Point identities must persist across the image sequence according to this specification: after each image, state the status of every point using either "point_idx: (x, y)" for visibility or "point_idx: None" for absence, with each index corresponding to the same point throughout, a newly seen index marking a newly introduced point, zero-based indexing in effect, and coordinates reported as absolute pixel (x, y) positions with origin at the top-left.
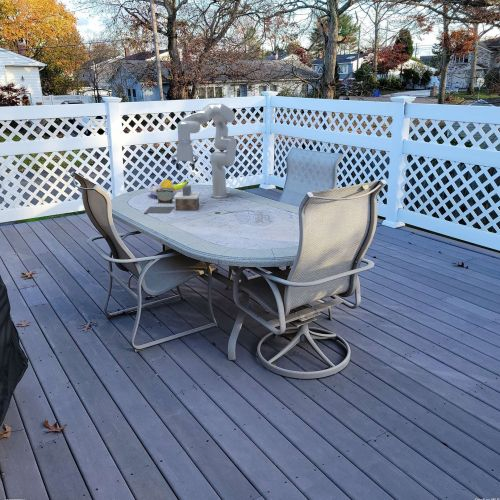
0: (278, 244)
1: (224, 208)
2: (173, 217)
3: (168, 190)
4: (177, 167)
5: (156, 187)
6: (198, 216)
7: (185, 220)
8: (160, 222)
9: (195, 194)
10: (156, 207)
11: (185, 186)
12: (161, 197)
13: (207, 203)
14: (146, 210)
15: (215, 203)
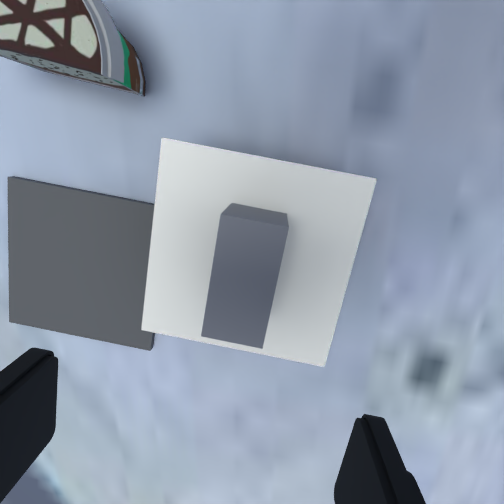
0: None
1: (497, 277)
2: (179, 405)
3: (63, 46)
4: (5, 482)
5: None
6: (310, 412)
7: (241, 462)
8: (126, 468)
9: (321, 272)
10: (53, 210)
11: (229, 262)
12: (37, 64)
13: (408, 112)
14: (9, 272)
15: (469, 122)
